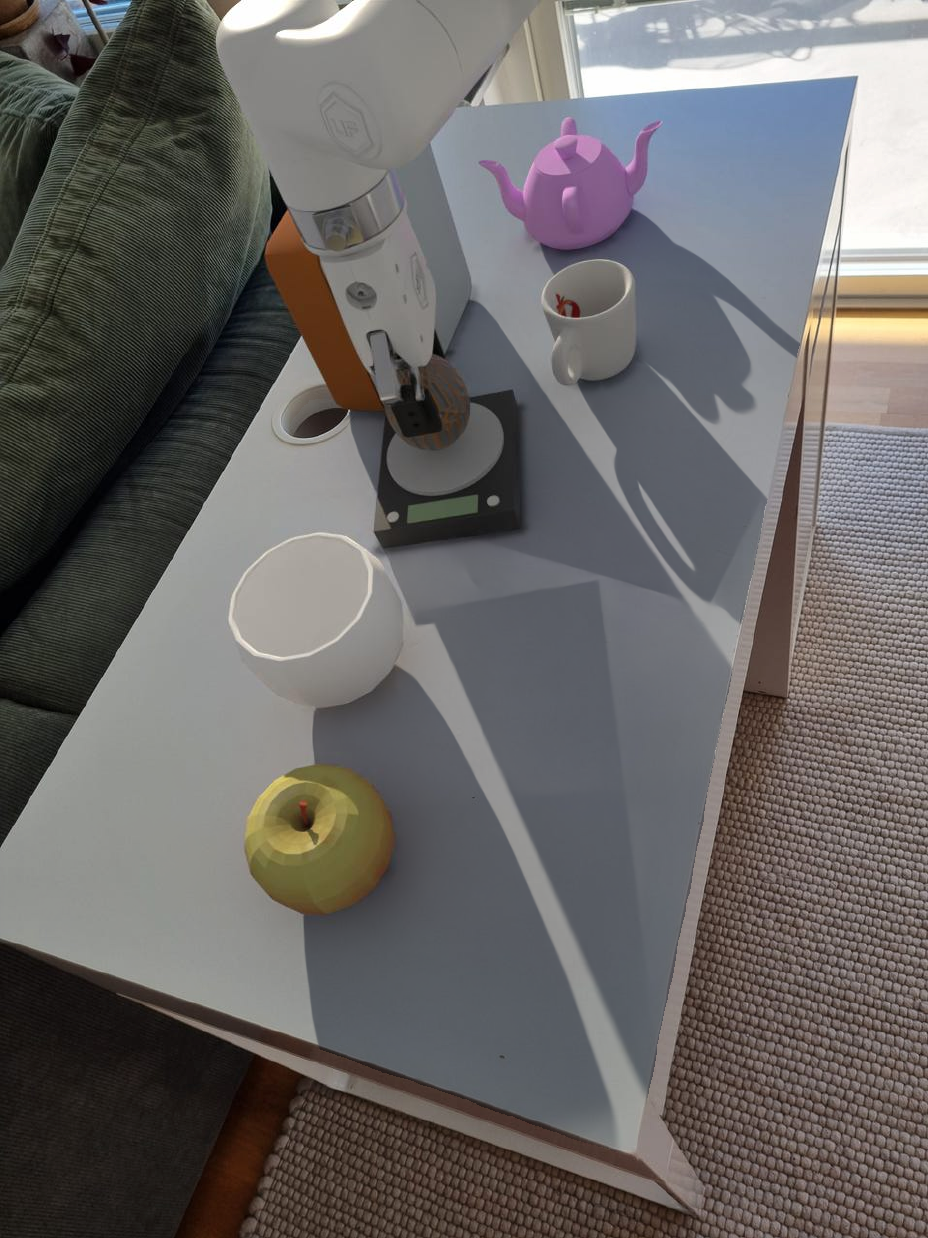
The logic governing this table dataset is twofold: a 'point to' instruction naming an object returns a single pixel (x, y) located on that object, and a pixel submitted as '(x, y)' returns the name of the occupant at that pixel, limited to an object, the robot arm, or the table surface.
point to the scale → (452, 479)
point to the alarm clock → (317, 306)
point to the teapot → (575, 189)
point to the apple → (319, 839)
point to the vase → (438, 403)
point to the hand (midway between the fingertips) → (425, 396)
